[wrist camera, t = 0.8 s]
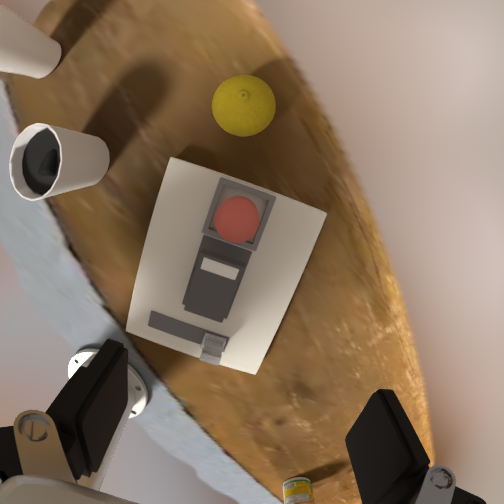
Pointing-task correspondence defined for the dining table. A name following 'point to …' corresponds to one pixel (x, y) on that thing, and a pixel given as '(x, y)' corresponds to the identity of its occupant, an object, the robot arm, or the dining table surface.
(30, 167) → the white cup
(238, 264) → the rocker switch
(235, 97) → the lemon
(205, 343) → the slide paddle
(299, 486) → the supplement bottle
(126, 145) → the dining table surface
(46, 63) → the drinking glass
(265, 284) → the switch panel
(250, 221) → the push button
